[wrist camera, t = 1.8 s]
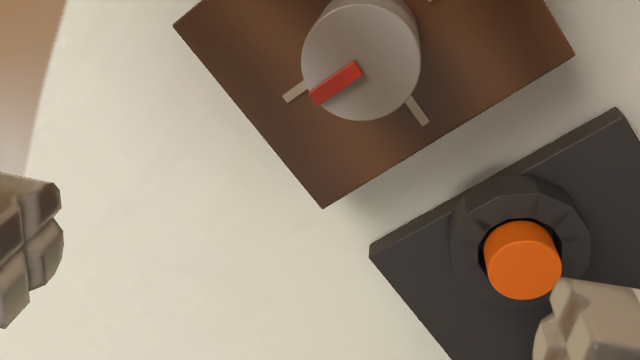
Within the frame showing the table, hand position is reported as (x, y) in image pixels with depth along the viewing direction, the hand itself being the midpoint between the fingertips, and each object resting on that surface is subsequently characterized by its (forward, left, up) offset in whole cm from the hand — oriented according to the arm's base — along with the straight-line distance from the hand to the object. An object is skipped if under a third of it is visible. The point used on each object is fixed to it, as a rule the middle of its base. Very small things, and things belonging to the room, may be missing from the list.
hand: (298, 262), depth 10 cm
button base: (0, +17, -18) cm, 25 cm away
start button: (0, +12, -16) cm, 19 cm away
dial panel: (0, 0, -18) cm, 18 cm away
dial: (0, 0, -15) cm, 15 cm away
